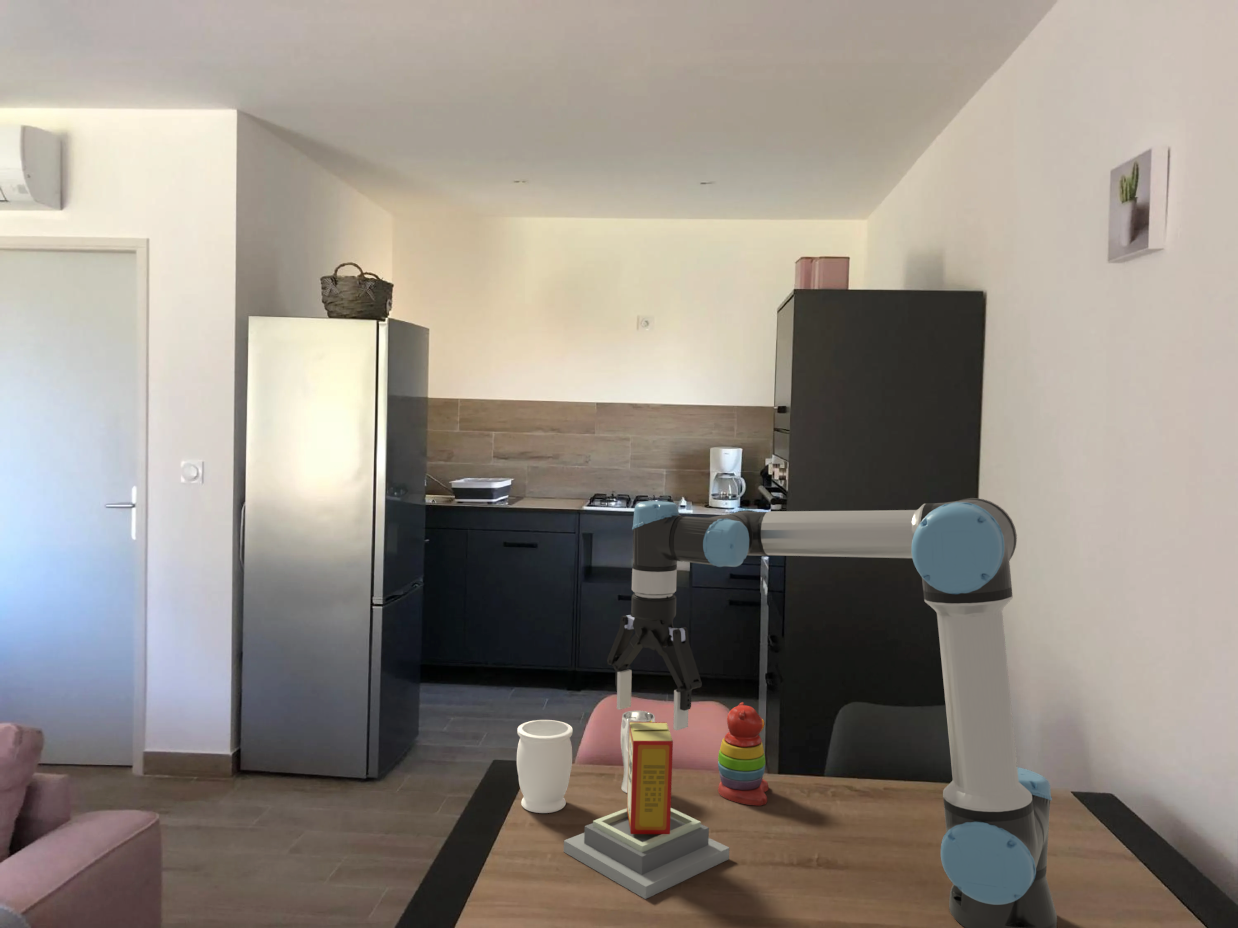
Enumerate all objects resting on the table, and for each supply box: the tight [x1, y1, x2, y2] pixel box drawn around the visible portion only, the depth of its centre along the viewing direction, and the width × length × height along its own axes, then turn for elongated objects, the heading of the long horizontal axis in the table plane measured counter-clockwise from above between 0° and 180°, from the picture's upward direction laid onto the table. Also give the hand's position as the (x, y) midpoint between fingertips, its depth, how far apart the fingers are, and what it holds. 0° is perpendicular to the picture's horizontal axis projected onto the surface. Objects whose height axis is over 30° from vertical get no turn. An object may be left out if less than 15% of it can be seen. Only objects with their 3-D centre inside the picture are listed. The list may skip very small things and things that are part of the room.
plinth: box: [563, 807, 730, 900], centre depth 157 cm, size 20×20×6 cm
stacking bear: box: [717, 701, 769, 807], centre depth 184 cm, size 11×10×18 cm
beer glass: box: [620, 710, 656, 794], centre depth 184 cm, size 7×7×15 cm
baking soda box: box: [626, 721, 674, 834], centre depth 156 cm, size 10×6×16 cm
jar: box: [516, 719, 573, 814], centre depth 176 cm, size 11×10×15 cm
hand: (651, 717), depth 156 cm, fingers open, 13 cm apart
